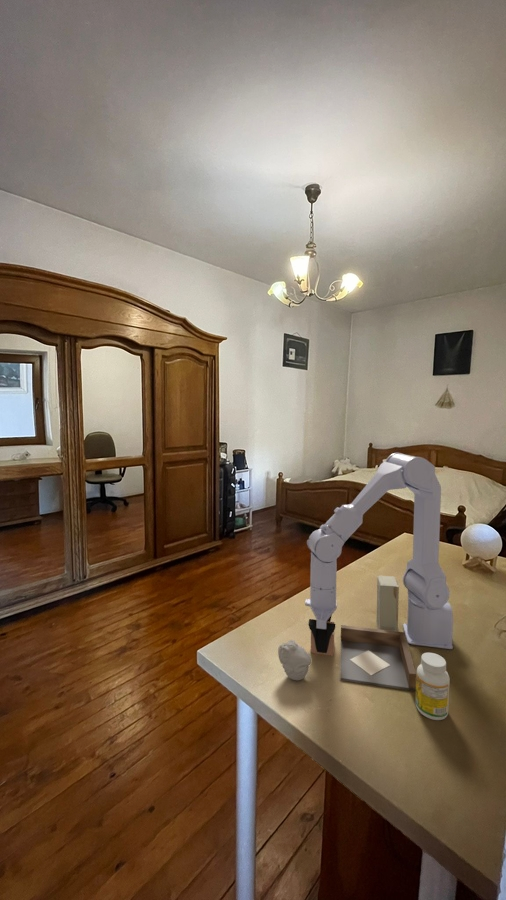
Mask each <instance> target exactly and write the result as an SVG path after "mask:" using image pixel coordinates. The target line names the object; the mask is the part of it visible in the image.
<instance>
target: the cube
mask: <svg viewBox="0 0 506 900" xmlns="http://www.w3.org/2000/svg"><path fill="white" fill-rule="evenodd" d="M327 623H334V624H335V621H330V622H329V621H327ZM310 653H311V654H317V655H318V654H319V655H326V656H334V655H335V631H334V632H333V633H332V635H331V637H330V641H329V646H328V650H327V653H320V652H317V650H316V646H315V641H314V636H313V634H312V632H311V631H310Z"/></svg>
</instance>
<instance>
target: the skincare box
mask: <svg viewBox="0 0 506 900" xmlns="http://www.w3.org/2000/svg"><path fill="white" fill-rule="evenodd" d="M376 577H377V578H376V579H377V584H376V586H377V587H376V625H377V629H380V630H389V631H397V632H399V598H400V597H399V595H400V594H399V593H400V591H399V590H400V586H399V582H398V580H397V579H396V576H392V575H391V576H389V575H377V576H376Z"/></svg>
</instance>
